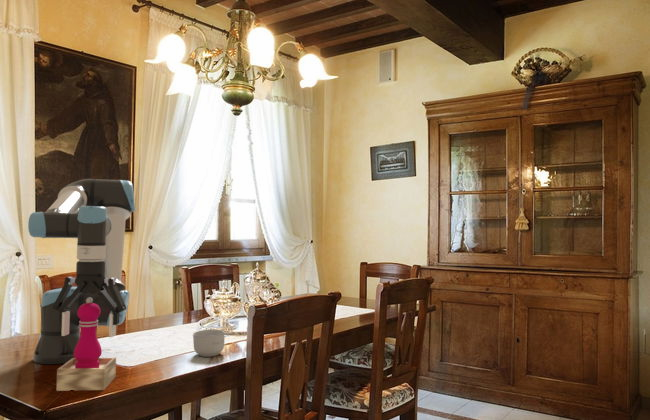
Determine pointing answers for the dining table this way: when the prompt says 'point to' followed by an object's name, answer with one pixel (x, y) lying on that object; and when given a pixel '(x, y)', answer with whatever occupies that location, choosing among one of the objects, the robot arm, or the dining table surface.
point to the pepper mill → (88, 336)
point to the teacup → (208, 342)
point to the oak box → (86, 375)
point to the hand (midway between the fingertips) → (88, 335)
